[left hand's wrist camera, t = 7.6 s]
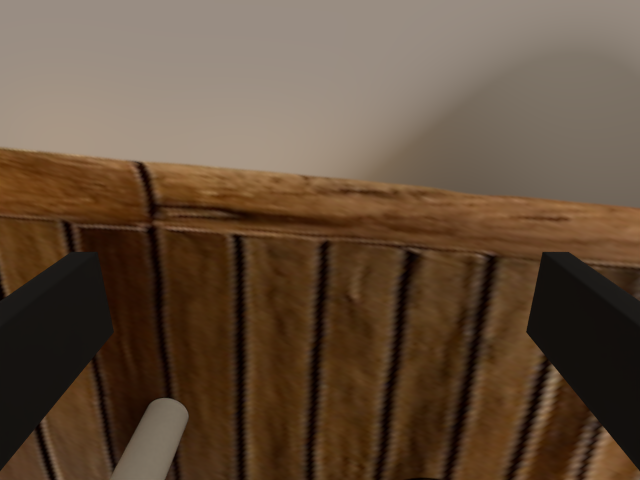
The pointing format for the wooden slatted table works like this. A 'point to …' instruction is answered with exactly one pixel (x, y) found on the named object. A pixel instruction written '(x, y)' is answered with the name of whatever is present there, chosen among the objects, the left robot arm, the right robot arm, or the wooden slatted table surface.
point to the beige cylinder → (153, 442)
